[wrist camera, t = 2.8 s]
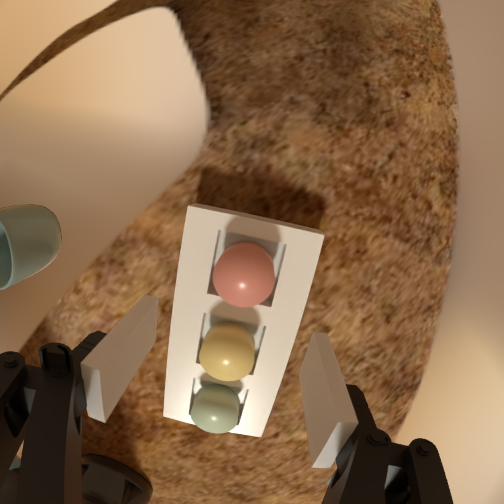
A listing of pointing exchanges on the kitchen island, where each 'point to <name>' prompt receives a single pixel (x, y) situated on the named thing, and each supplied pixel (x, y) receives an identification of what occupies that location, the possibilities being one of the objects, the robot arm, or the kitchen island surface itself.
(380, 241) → the kitchen island surface
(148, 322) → the robot arm
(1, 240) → the cup
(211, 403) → the sage button
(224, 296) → the brick button
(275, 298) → the panel
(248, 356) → the ochre button
